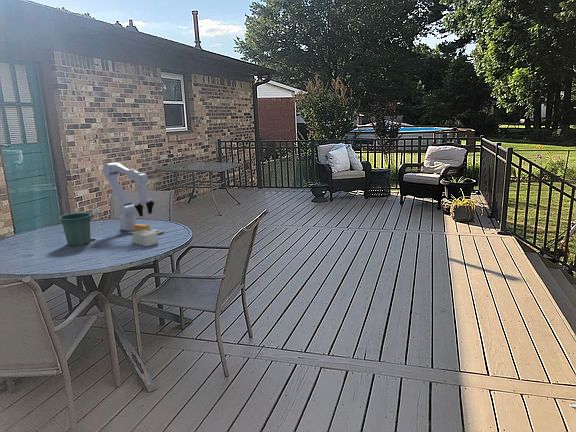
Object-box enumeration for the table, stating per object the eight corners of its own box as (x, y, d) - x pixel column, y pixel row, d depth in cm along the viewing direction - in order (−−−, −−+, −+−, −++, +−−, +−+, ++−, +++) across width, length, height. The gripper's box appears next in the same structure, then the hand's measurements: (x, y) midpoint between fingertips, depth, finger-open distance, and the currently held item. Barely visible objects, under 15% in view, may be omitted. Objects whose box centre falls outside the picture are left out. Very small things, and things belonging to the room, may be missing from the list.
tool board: (127, 234, 269) (127, 232, 269) (139, 230, 278) (138, 228, 278) (152, 237, 261) (152, 235, 261) (164, 233, 270) (163, 231, 270)
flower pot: (82, 247, 243) (78, 219, 239) (56, 246, 246) (52, 218, 243) (100, 239, 259) (97, 212, 255) (75, 238, 262) (72, 212, 258)
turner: (131, 232, 270) (131, 225, 269) (139, 229, 276) (139, 223, 275) (150, 234, 263) (150, 227, 263) (158, 231, 270) (158, 224, 269)
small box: (133, 243, 250) (145, 246, 241) (132, 232, 248) (144, 235, 240) (146, 240, 256) (158, 243, 247) (144, 229, 254) (157, 232, 246)
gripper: (139, 195, 263) (142, 217, 266) (156, 191, 276) (158, 212, 278) (130, 195, 266) (133, 217, 269) (147, 191, 279) (150, 212, 281)
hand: (145, 214), depth 274 cm, fingers open, 7 cm apart
